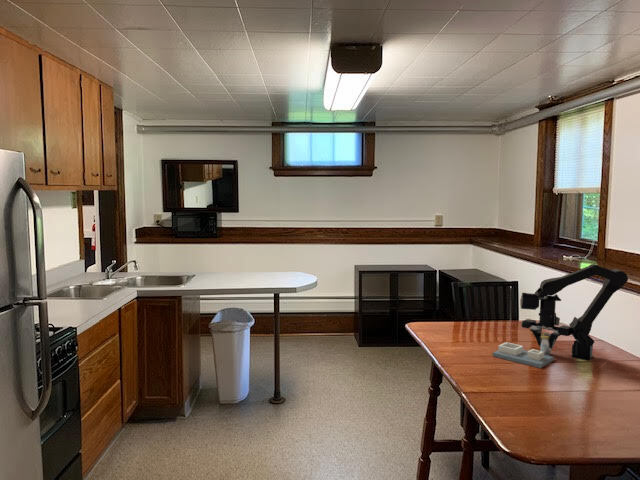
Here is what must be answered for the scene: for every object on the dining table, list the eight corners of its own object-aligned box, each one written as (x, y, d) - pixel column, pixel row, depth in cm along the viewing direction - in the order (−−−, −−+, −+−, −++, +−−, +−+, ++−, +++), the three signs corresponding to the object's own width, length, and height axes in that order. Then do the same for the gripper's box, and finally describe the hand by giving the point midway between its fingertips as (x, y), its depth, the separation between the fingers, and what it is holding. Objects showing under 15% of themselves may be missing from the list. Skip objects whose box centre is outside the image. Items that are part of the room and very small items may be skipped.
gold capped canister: (553, 353, 197) (554, 334, 197) (549, 355, 194) (550, 336, 193) (541, 350, 201) (542, 332, 200) (536, 353, 198) (537, 334, 197)
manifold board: (553, 360, 189) (553, 350, 189) (540, 368, 180) (540, 357, 180) (506, 349, 203) (507, 340, 202) (492, 356, 194) (492, 346, 193)
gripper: (578, 311, 195) (576, 348, 196) (532, 304, 208) (530, 338, 210) (569, 315, 187) (567, 354, 188) (521, 307, 201) (520, 344, 202)
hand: (545, 347), depth 197 cm, fingers closed on gold capped canister, 4 cm apart
